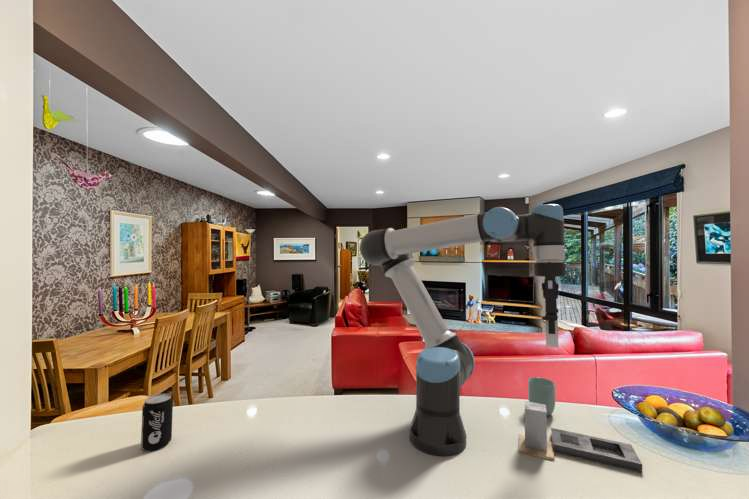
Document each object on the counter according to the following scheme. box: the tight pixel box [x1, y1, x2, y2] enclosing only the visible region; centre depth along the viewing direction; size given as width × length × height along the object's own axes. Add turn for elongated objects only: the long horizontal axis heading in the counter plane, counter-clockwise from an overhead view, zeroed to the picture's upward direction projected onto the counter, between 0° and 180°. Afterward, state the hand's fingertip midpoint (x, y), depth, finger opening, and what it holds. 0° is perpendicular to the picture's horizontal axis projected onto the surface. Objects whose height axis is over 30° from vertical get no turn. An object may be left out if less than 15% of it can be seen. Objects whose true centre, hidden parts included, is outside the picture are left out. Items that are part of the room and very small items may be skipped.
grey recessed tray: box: [550, 427, 643, 474], centre depth 82 cm, size 18×9×2 cm, turn 64°
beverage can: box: [140, 393, 174, 452], centre depth 83 cm, size 7×7×12 cm
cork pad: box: [518, 434, 555, 462], centre depth 83 cm, size 8×8×1 cm
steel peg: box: [524, 400, 548, 453], centre depth 84 cm, size 5×5×10 cm
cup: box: [527, 376, 556, 416], centre depth 103 cm, size 8×8×10 cm
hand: (551, 340), depth 86 cm, fingers open, 13 cm apart
